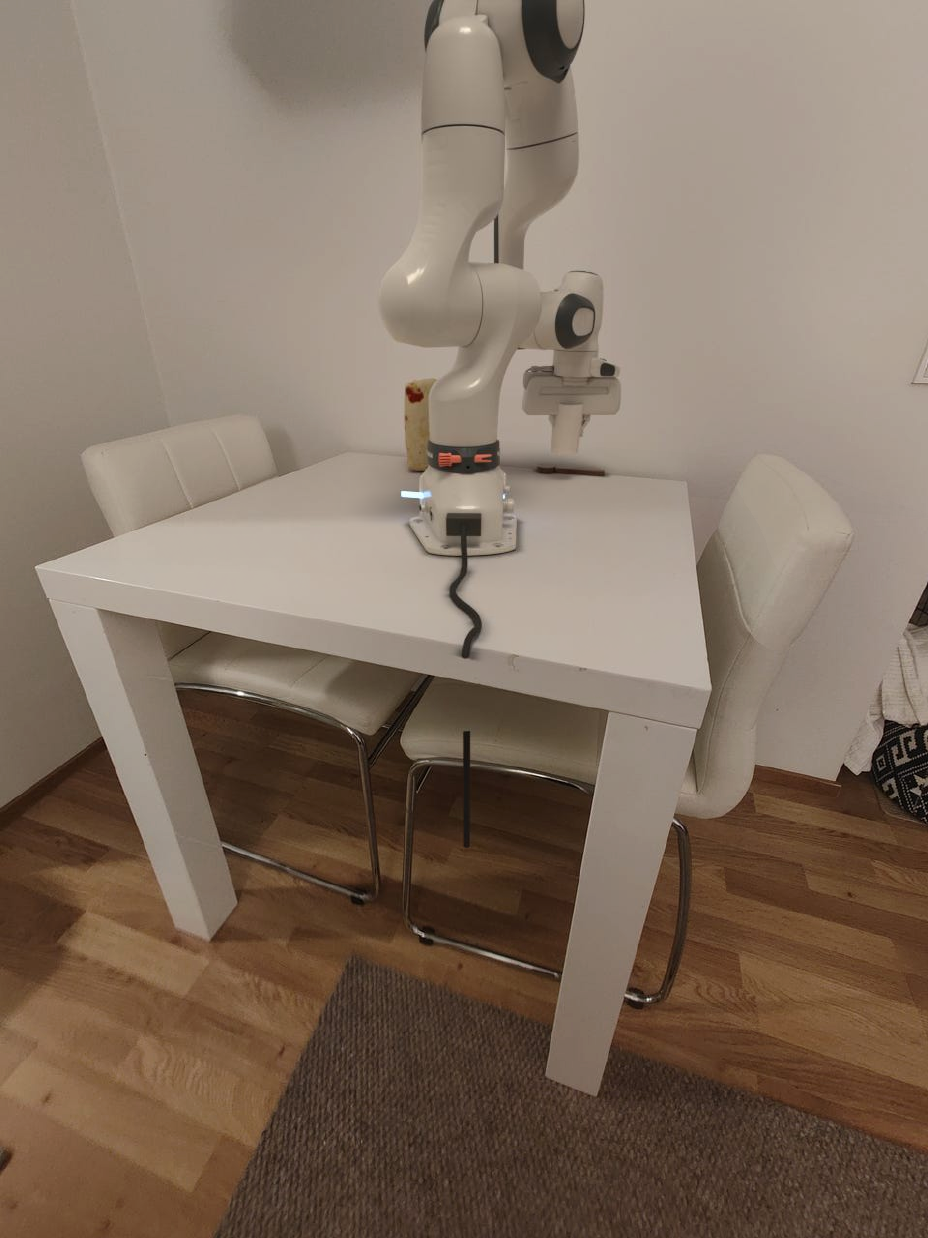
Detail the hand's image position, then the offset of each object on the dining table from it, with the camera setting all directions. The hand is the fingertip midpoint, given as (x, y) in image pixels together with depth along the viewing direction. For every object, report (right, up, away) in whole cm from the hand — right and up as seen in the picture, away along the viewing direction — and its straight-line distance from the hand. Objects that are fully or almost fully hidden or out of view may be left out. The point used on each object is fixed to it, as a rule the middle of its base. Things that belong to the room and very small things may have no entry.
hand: (567, 436), depth 121 cm
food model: (-31, -4, +13) cm, 34 cm away
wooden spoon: (+2, -5, +11) cm, 12 cm away
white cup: (0, -3, +2) cm, 3 cm away
